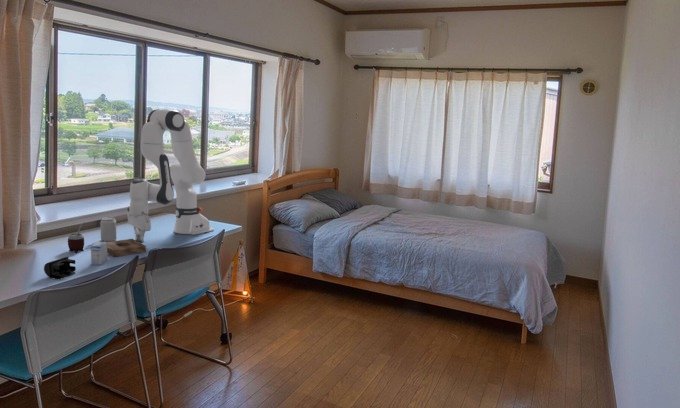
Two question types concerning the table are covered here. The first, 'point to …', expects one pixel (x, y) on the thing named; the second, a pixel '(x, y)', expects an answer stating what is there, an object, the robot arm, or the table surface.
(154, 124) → the robot arm
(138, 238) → the cylinder
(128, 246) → the block
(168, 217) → the table surface
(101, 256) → the medicine box
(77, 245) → the mate gourd
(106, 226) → the can
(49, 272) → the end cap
